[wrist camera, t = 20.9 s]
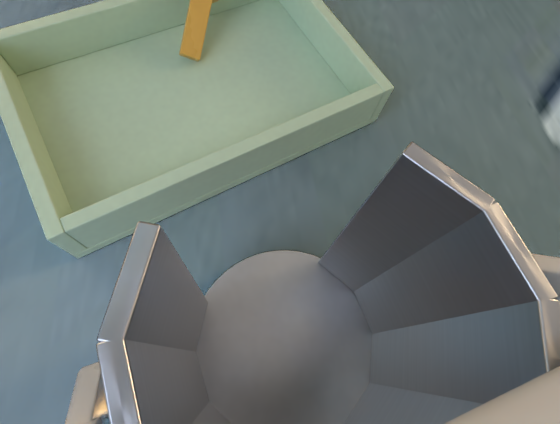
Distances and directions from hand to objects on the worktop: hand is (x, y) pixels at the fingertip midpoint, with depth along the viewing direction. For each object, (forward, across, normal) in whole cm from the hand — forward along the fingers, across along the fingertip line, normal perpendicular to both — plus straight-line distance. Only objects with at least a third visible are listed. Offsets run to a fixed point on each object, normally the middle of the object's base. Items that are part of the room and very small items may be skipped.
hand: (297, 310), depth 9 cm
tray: (+12, 0, -4) cm, 13 cm away
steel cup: (+3, 0, +4) cm, 5 cm away
